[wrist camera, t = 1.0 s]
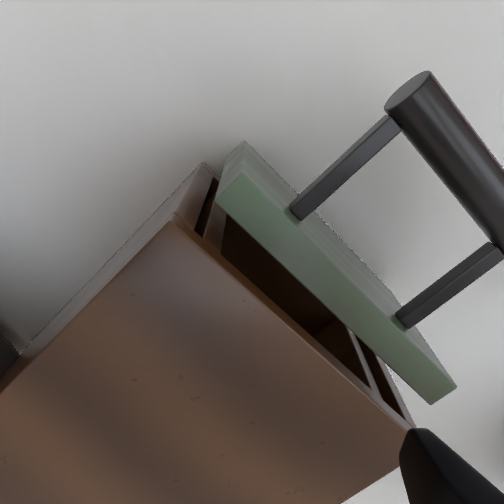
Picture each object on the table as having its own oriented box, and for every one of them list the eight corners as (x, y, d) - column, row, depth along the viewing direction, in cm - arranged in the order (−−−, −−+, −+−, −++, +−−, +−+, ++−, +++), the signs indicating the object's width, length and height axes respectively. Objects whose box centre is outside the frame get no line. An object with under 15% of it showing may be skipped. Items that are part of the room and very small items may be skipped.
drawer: (343, 37, 17) (409, 5, 10) (486, 216, 20) (611, 285, 13) (66, 321, 22) (-15, 428, 15) (214, 429, 25) (202, 558, 18)
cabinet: (203, 161, 19) (169, 219, 11) (361, 315, 23) (427, 449, 14) (30, 341, 23) (-92, 487, 15) (188, 450, 27) (160, 619, 18)
